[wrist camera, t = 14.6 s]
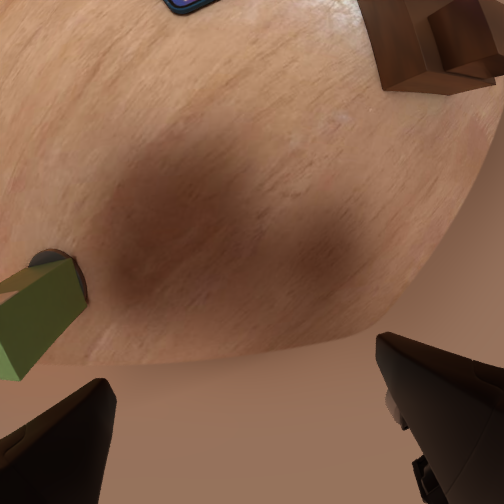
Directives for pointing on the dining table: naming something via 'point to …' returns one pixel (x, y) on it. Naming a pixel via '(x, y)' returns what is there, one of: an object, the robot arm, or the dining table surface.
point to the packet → (36, 313)
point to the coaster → (57, 255)
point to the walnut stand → (436, 43)
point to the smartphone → (185, 5)
